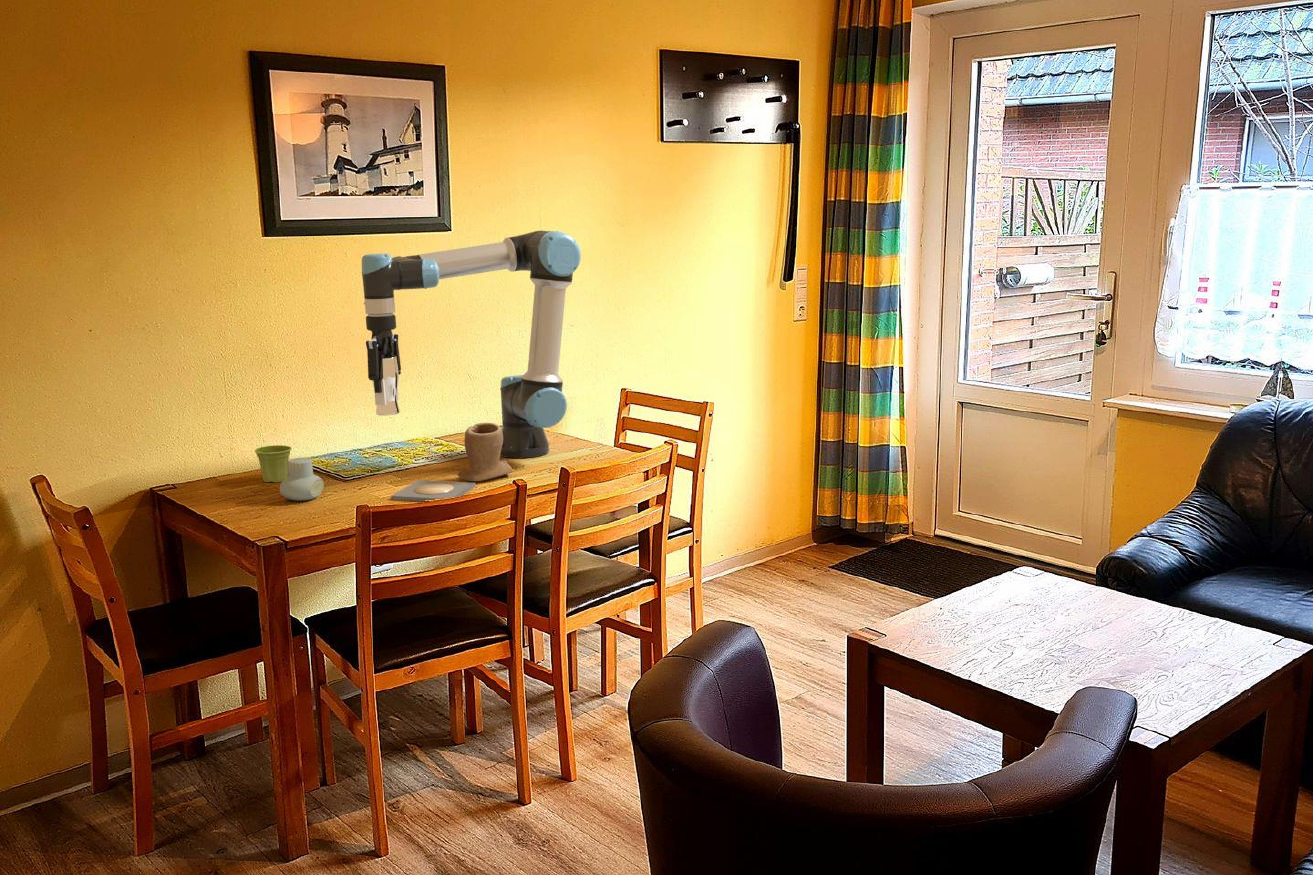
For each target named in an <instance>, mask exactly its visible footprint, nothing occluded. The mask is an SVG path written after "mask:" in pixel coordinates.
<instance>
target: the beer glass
mask: <svg viewBox="0 0 1313 875" xmlns="http://www.w3.org/2000/svg"><path fill="white" fill-rule="evenodd" d="M399 376H400V375H399V373H398V364H397V358H396V356H395V355H393V357H392V358H385V359H383V378H382V380H384V381H385V394H386V405H376V409H375V414H376V415H378V416H393V415H397V414H400V412H401V411H400V407H399V403H398V400H397V391H398V392H399V379H400V378H399ZM371 382H372V386H373V387H374V381H373V380H371Z"/></svg>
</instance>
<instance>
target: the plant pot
mask: <svg viewBox="0 0 1313 875" xmlns="http://www.w3.org/2000/svg"><path fill="white" fill-rule="evenodd" d="M292 449H293V448H292V446H289V445H283V444H278V445H277V444H276V445H265V446H260V447H257V448H255V449H254V453H256V456H257V459H258V461H259V467H260V470H261V474H262V479H263V482H266V483H270V482H273V483H280V482H281V483H282V481H283V480H284V479H285V478H287V477H288V476H289V474H288V461H289V460H290V454H291V450H292Z"/></svg>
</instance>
